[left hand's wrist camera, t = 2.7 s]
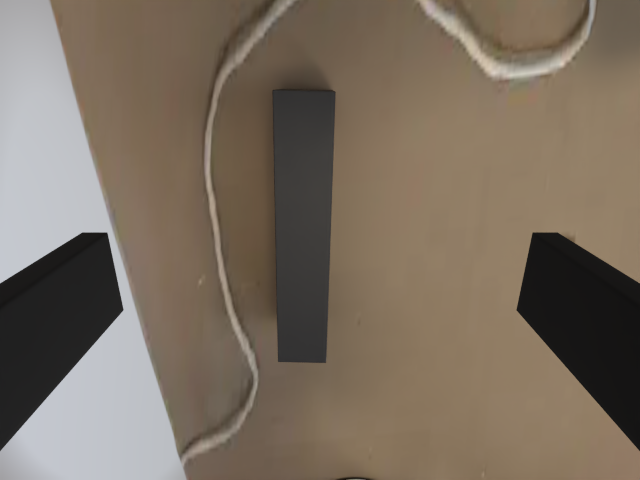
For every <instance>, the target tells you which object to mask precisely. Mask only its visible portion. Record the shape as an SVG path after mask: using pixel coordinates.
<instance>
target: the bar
mask: <svg viewBox="0 0 640 480" xmlns="http://www.w3.org/2000/svg"><path fill="white" fill-rule="evenodd" d="M334 117H335V91H333V90H299V89H279V90H273V130H274V180H275V231H276V281H277V332H278V362H312V363H326V350H327V321H328V292H329V263H330V234H331V205H332V176H333V146H334Z"/></svg>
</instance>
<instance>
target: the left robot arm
mask: <svg viewBox="0 0 640 480" xmlns="http://www.w3.org/2000/svg"><path fill="white" fill-rule="evenodd" d="M122 311H123V306H122V301H121V296H120V291H119V287H118V282H117V277H116V272H115V268H114V263H113V258H112V253H111V248H110V243H109V239H108V234H107V233H81V234H80V235H78V236H76V237H75V238H73V239H71V240H70V241H68V242H67V243H65V244H63V245H62V246H60V247H58V248H57V249H55V250H54V251H52V252H50V253H49V254H47V255H46V256H44V257H42V258H41V259H39V260H38V261H36V262H34V263H33V264H31V265H29V266H28V267H26V268H25V269H23V270H21V271H20V272H18V273H16V274H15V275H13V276H12V277H10V278H8V279H7V280H5V281H4V282H2V283H0V451H1V449H2V448H3V447H4V446H5V445H6V444H7V443H8V441H9V440H10V439H11V438H12V437H13V436H14V435H15V433H16V432H17V431H18V430H19V429H20V428H21V427H22V425H23V424H24V423H25V422H26V421H27V420H28V419H29V417H30V416H31V415H32V414H33V413H34V412H35V411H36V409H37V408H38V407H39V406H40V405H41V404H42V403H43V401H44V400H45V399H46V398H47V397H48V396H49V395H50V393H51V392H52V391H53V390H54V389H55V388H56V387H57V385H58V384H59V383H60V382H61V381H62V380H63V379H64V377H65V376H66V375H67V374H68V373H69V372H70V371H71V369H72V368H73V367H74V366H75V365H76V364H77V363H78V361H79V360H80V359H81V358H82V357H83V356H84V355H85V353H86V352H87V351H88V350H89V349H90V348H91V347H92V345H93V344H94V343H95V342H96V341H97V340H98V339H99V337H100V336H101V335H102V334H103V333H104V332H105V331H106V329H107V328H108V327H109V326H110V325H111V324H112V323H113V321H114V320H115V319H116V318H117V317H118V316H119V315H120V313H121V312H122ZM517 311H518V312H519V313H520V315H521V316H522V317H523V318H524V319H525V320H526V321H527V323H528V324H529V325H530V326H531V327H532V328H533V329H534V331H535V332H536V333H537V334H538V335H539V336H540V337H541V339H542V340H543V341H544V342H545V343H546V344H547V345H548V347H549V348H550V349H551V350H552V351H553V352H554V353H555V355H556V356H557V357H558V358H559V359H560V360H561V361H562V363H563V364H564V365H565V366H566V367H567V368H568V369H569V371H570V372H571V373H572V374H573V375H574V376H575V377H576V379H577V380H578V381H579V382H580V383H581V384H582V385H583V387H584V388H585V389H586V390H587V391H588V392H589V393H590V395H591V396H592V397H593V398H594V399H595V400H596V401H597V403H598V404H599V405H600V406H601V407H602V408H603V409H604V411H605V412H606V413H607V414H608V415H609V416H610V417H611V419H612V420H613V421H614V422H615V423H616V424H617V425H618V427H619V428H620V429H621V430H622V431H623V432H624V433H625V435H626V436H627V437H628V438H629V439H630V440H631V441H632V443H633V444H634V445H635V446H636V447H637V448H638V449H639V451H640V283H638V282H636V281H635V280H633V279H632V278H630V277H628V276H627V275H625V274H624V273H622V272H620V271H619V270H617V269H615V268H614V267H612V266H611V265H609V264H607V263H606V262H604V261H603V260H601V259H599V258H598V257H596V256H594V255H593V254H591V253H590V252H588V251H586V250H585V249H583V248H582V247H580V246H578V245H577V244H575V243H573V242H572V241H570V240H569V239H567V238H565V237H564V236H562V235H561V234H559V233H533V234H532V239H531V243H530V248H529V253H528V258H527V262H526V267H525V272H524V277H523V282H522V286H521V291H520V296H519V301H518V306H517Z"/></svg>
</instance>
